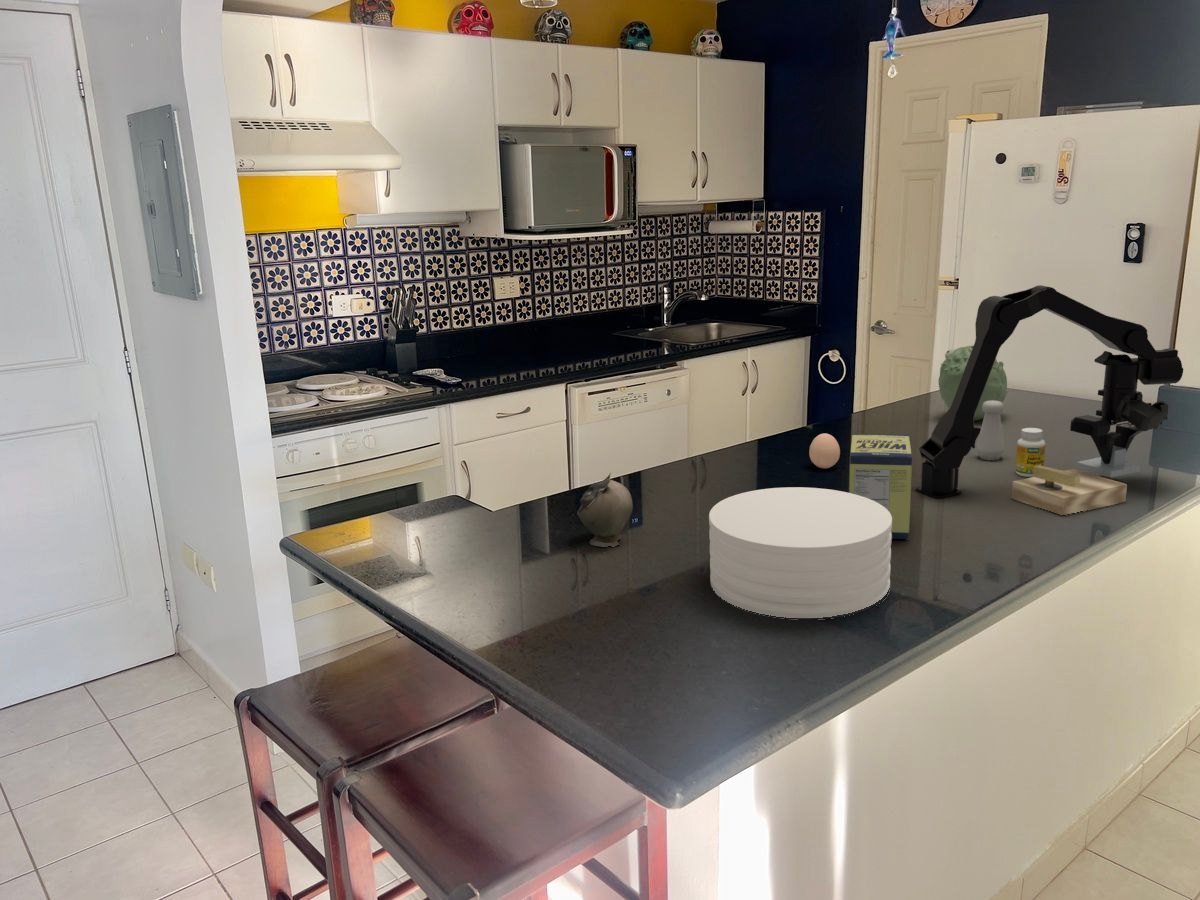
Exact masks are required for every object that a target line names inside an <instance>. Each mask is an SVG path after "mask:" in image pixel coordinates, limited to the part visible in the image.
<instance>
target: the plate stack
mask: <svg viewBox="0 0 1200 900" xmlns="http://www.w3.org/2000/svg"><path fill="white" fill-rule="evenodd" d="M708 524H709V531H708V532H709V533H708V534H709V537H708V538H709V541H710V542H709V556H710V559H709V569H710V574H709V576H710V577H709V579H710V587H711V588H713V589H712V590H713V592H714V591H715V592H714V593H715V594H716V595H717V597H719V598H720V597H721V600H723V601H724V600H725V601H724V602H726V601H727V602H726V603H728V604H729V603H730V605H731V604H732V605H731V606H733V605H734V606H733V607H736V606H737V607H736V608H738V607H740V608H742V609H741V610H743V609H745V610H744V611H746V610H748V611H747V612H749V611H752V612H756V613H759V614H758V615H760V614H765V615H769V616H768V617H770V615H771V616H776V617H784V618H785V617H786V618H823V617H832V616H837V615H843V614H848V613H852V612H855V611H858V610H861V609H864V608H866V607H869V606H871V605H873V604H875V603H876V602H878V601H879V600H881V599H882V598H883V597H884V596H885V595H886V594H887V592H888V590H889V588H890V589H891V578H890V577H891V568H892V567H891V559H892V548H891V546H892V540H893V539H892V534H891V529H892V516H891V514H890V512H889V511H888V510H887V509H886V508H885V507H884V506H882V505H881V504H879V503H877V502H875V501H873V500H871V499H868V498H865V497H862V496H859V495H856V494H852V493H850V492H846V491H841V490H836V489H828V488H818V487H802V486H801V487H797V486H796V487H795V486H792V487H791V486H790V487H772V488H771V487H770V488H764V489H763V488H761V489H756V490H750V491H746V492H741V493H736V494H735V495H732V496H728V497H726V498H724V499H721V500H720V501H719V502H717V503H716V504H715V505H714V506H713V507H712V508H711V509H710V511H709V514H708ZM889 591H890V590H889ZM740 608H739V609H740ZM752 612H751V613H752ZM756 613H755V614H756ZM765 615H764V616H765ZM776 617H775V618H776ZM784 618H783V619H784Z"/></svg>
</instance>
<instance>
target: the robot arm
mask: <svg viewBox="0 0 1200 900" xmlns="http://www.w3.org/2000/svg"><path fill="white" fill-rule="evenodd" d="M1043 310H1045V311H1048V312H1050V313H1052V314H1053V315H1056V316H1058V317H1060V318H1062V319H1063V320H1066V321H1068V322H1070V323H1072V324H1074V325H1076V326H1079V327H1080V328H1082V329H1085V330H1087V332H1090V334H1092V335H1093V337H1095V339H1096V340H1098V341H1099V342H1101V343H1102V344H1103V345H1105V346H1106V347H1107V348H1109V349H1113V350H1116V351H1118V352H1121V353H1123V354H1113V353H1112V352H1111V351H1107V350H1104V351H1103V352H1102V353H1101V354H1100V355H1098V356H1097V357H1096V358H1095V359H1094V362H1095V363H1097V364H1099V365H1103V366H1105V367H1104V368H1105V370H1104V380H1103V389H1098V390H1097V396H1101V397H1102V401H1101V409H1096V411H1095V416H1093V415H1090V414H1085V415H1081V416H1075V417H1073V418H1072V419H1071V420H1070V425H1069V427H1070V428H1069V430H1070V431H1071V432H1074V433H1078V434H1082V435H1087V436H1090V437H1091V440H1093V443H1094V444H1095V447H1096V450H1097V452H1098V453H1099V457H1101V458H1102V461H1103V463H1104V464H1109V463H1110V460H1111V456H1112V450H1113V446H1117V447H1121V448H1125V449H1126V453H1127V451H1128V450H1129V448H1130V445H1131V443H1132V442H1133V440H1134V439H1135V437H1136V436H1137V435H1139V434H1141V433H1143V432H1147V431H1150V430H1158V429H1159V426H1160V425H1163V421H1167V420H1168V415H1169V404H1168V403H1166V402H1164V401H1156V402H1154V403H1152V402H1148V403H1147V402H1145V401H1143V397H1144V396H1143V392H1142V391H1137V389H1138V381H1139V382H1140V383H1141V384H1142V385H1144V386H1149V385H1171V384H1177V383H1179V382H1180V380H1181V379H1182V377H1183V373H1184V367H1183V364H1182V361H1181V359H1180V357H1179V350H1178V349H1175V348H1164V349H1155V348H1154V346H1153V344H1152V343H1151V341H1150V340H1149V335H1148V329H1147V328H1146V326H1144V325H1142V324H1139V323H1136V322H1132V321H1129V320H1128V321H1127V320H1124V319H1121V318H1117V317H1113V316H1110V315H1106V314H1104V313H1102V312H1100V311H1098V310H1096V309H1094V308H1092V307H1089V306H1087V305H1085V304H1084V303H1082V302H1080V301H1077V300H1076V299H1073V298H1071V297H1070V296H1067V295H1066V294H1063V293H1061V292H1059V291H1057V290H1056V289H1055V288H1054V287H1050V286H1048V285H1047V286H1046V285H1035V286H1033V287H1031V288H1027V289H1024V290H1021V291H1017V292H1012V293H1008V294H1005V295H1001V296H999V295H991V296H989V297H987V298H984V299H982V301H981V302H980V303H979V306H978V308H977V313H976V318H975V324H974V325H975V327H974V328H975V341H974V344H973V345H972V346H973V349H972V351H971V354H970V357H969V359H968V362H967V365H966V368H965V370H964V373H963V376H962V378H961V381H960V384H959V386H958V389H957V392H956V394H955V397H954V400H953V402H952V405H951V407H950V409H948V410H947V411H946V412H945V413H944V414H943V416H942V417H940V419H939V420H938V421H937V424H936V425H935V427H934V429H933V431H932V432H931V436H930V437H929V438H928V439H927V440H926V441H925V442H924V443H923V444H922V445H921V446H920V447H919V448H918V451H919V454H920V456H921V458H922V459H924V460H925V461H924V462H922V464H921V482H920V483H921V486H918V487H915V491H917V492H920V493H922V494H924V495H927V496H930V497H933V498H935V499H941V498H945V497H950V496H956V495H960V494H963V491H962V490H961V489H959V488H958V487H959V468H960V467H961V465H962V462H963V460H964V457H967V456H968V454H969V453H970V452H971V450H972V449H975V448H976V441H977V440H978V438H979V436H980V431H981V428H980V427H979V426H977V425H976V424H975V421H974V415H975V412H976V409H977V407H978V404H979V401H980V399H981V396H982V394H983V391H984V388H985V386H986V383H987V380H988V378H989V375H990V372H991V370H992V367H993V365H994V362H995V359H996V360H997V356H998V354H999V352H1000V349H1001V347H1002V345H1004V344H1005V342H1006V341H1007V340H1008V339H1009V338H1010V337H1011V336H1012V335H1013V333H1014V331H1015V329H1016V328H1017V326H1018V324H1019V323H1020V321H1022V320H1025V319H1029V318H1031V317H1033V316H1034V315H1037V313H1040V312H1041V311H1043ZM1124 353H1126V354H1124ZM1128 354H1129V355H1133V356H1137V357H1130V356H1129V355H1128Z"/></svg>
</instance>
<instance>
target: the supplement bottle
mask: <svg viewBox="0 0 1200 900" xmlns="http://www.w3.org/2000/svg"><path fill="white" fill-rule="evenodd" d="M1020 431H1021V432H1020V435H1021V437H1020V438H1019V439H1018V440H1017V443H1016V444H1017V445H1016V460H1015V474H1017V475H1018V476H1021V477H1025V478H1032V477H1033V472H1034V466H1038V465H1041V466H1045V457H1046V456H1045V455H1046V441H1045V440H1044V439H1042V437H1043V432H1044V431H1043V430H1042V428H1036V427H1025V428H1022V429H1021V430H1020Z"/></svg>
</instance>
